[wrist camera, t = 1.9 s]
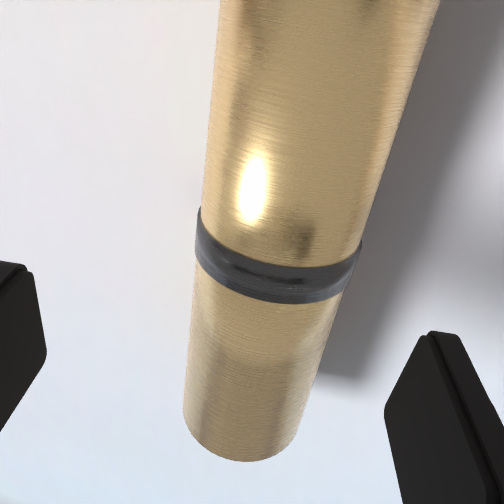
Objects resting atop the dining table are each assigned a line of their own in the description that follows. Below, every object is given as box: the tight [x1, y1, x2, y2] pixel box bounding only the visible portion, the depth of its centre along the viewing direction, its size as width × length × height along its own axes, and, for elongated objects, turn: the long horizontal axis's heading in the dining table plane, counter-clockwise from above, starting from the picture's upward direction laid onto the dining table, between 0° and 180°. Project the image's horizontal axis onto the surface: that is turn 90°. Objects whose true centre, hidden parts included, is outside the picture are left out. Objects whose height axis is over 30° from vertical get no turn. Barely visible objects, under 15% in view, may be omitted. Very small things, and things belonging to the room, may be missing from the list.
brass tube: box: [183, 0, 440, 462], centre depth 16 cm, size 20×6×6 cm, turn 172°
